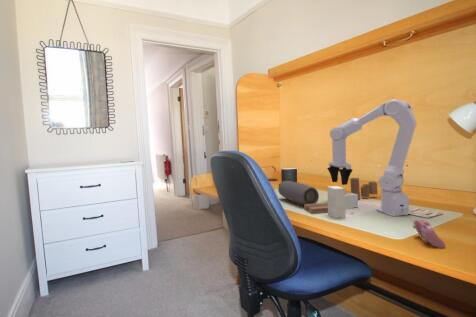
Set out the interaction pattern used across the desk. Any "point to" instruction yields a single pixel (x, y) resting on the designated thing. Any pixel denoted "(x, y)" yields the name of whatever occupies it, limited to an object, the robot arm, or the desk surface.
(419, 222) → the pink lumpy wedge
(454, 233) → the desk surface
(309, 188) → the bluetooth speaker
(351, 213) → the cream rectangular panel
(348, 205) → the brick
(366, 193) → the wooden block set
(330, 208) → the skincare box
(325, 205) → the base slab
